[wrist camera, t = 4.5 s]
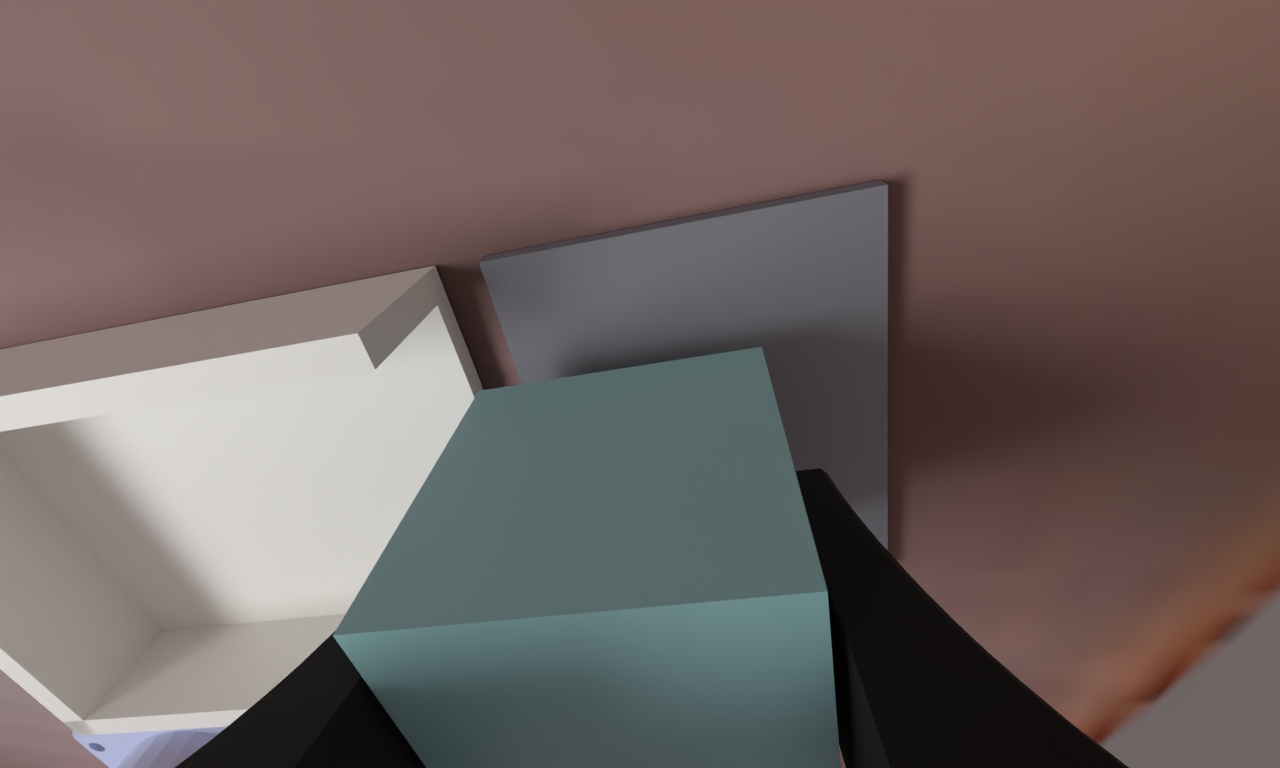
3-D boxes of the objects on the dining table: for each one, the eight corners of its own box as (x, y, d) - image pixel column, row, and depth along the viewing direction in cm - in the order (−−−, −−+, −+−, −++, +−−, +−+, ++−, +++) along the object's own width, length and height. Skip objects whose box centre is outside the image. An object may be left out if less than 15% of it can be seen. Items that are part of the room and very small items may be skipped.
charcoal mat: (882, 563, 14) (887, 576, 14) (600, 590, 15) (598, 603, 15) (880, 180, 10) (888, 184, 9) (485, 255, 11) (478, 262, 10)
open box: (563, 593, 15) (538, 706, 13) (171, 631, 17) (79, 735, 14) (435, 265, 11) (357, 333, 8) (-71, 362, 13) (-266, 443, 10)
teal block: (786, 560, 12) (846, 851, 8) (555, 583, 13) (490, 858, 8) (761, 347, 10) (828, 591, 5) (479, 390, 10) (333, 635, 6)
